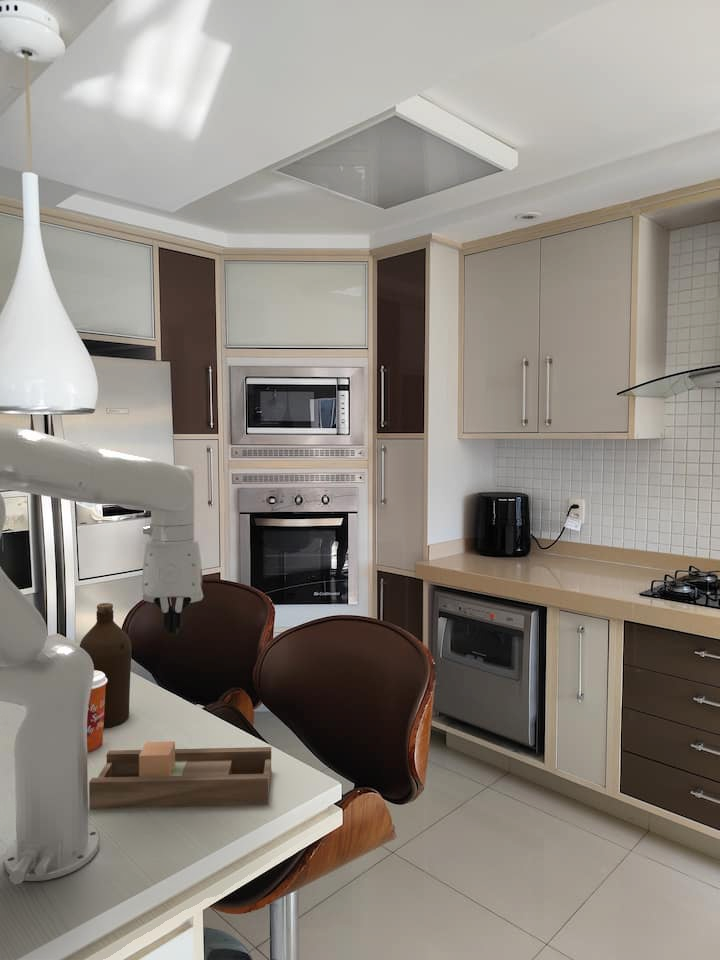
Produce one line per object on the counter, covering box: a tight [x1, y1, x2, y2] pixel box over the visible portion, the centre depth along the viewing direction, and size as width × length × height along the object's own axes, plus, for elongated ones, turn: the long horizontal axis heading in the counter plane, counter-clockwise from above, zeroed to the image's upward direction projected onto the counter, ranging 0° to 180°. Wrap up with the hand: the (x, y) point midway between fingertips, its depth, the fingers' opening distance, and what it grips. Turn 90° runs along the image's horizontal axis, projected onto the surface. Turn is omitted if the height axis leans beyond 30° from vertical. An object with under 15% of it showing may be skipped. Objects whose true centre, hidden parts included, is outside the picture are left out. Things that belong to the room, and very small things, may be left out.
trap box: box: [88, 746, 272, 810], centre depth 115 cm, size 11×29×4 cm, turn 95°
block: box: [139, 741, 176, 777], centre depth 115 cm, size 5×5×4 cm
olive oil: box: [78, 602, 133, 729], centre depth 141 cm, size 11×11×25 cm
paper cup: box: [87, 670, 107, 753], centre depth 130 cm, size 8×8×14 cm
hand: (173, 631), depth 122 cm, fingers closed
